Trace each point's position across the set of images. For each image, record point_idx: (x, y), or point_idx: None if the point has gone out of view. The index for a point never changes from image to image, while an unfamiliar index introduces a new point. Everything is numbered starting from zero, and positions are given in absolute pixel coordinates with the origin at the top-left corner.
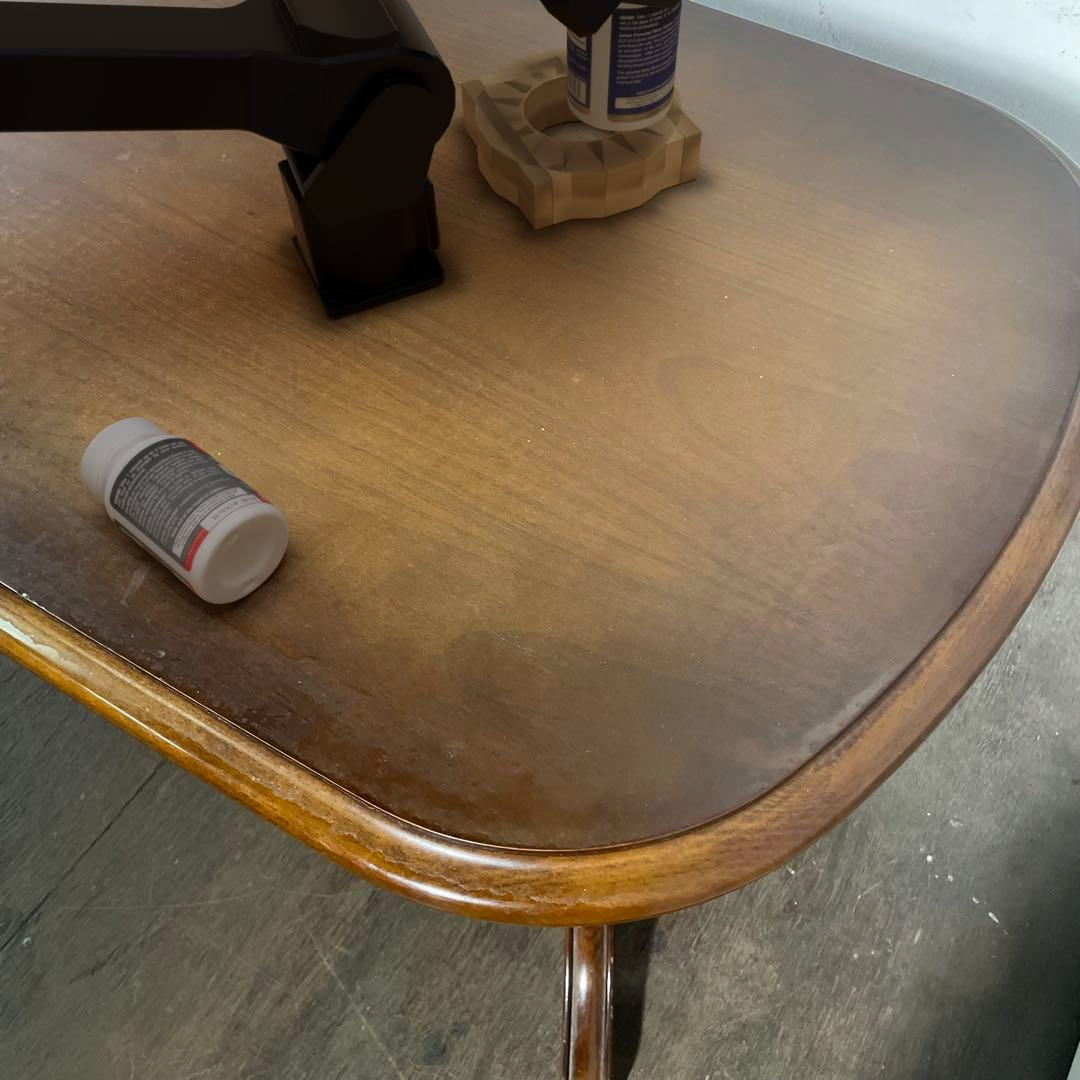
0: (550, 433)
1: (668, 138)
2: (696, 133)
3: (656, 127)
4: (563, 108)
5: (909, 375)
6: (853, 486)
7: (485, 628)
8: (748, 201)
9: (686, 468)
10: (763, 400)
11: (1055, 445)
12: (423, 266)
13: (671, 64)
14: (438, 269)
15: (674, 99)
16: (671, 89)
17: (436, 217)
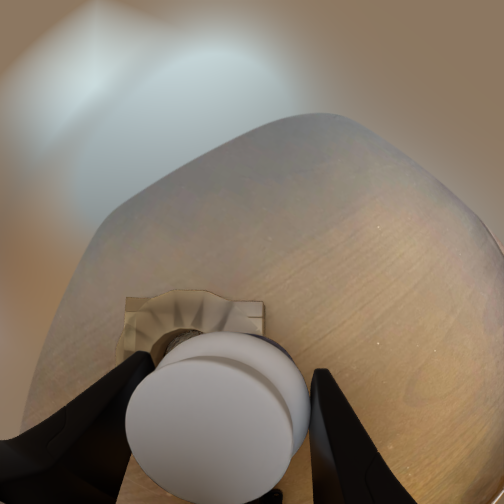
0: (411, 464)
1: (257, 329)
2: (262, 306)
3: (239, 331)
4: (158, 358)
5: (456, 274)
6: (491, 335)
7: (464, 492)
8: (302, 283)
9: (459, 407)
10: (446, 356)
11: (493, 238)
12: (268, 499)
13: (291, 358)
14: (275, 493)
15: (214, 299)
16: (286, 351)
17: (256, 500)
